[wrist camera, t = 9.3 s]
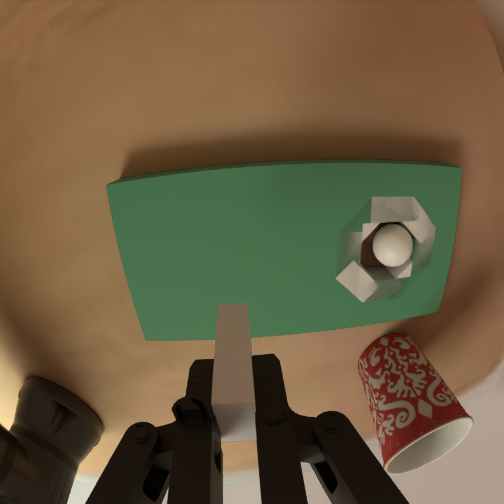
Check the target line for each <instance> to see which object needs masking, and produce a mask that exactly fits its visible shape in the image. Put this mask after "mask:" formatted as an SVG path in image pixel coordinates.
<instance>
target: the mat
mask: <svg viewBox="0 0 504 504" xmlns="http://www.w3.org/2000/svg"><path fill="white" fill-rule="evenodd" d="M461 181H462V168H461V167H457V166H453V165H450V164H446V163H435V162H420V161H401V160H369V159H324V160H291V161H271V162H255V163H242V164H230V165H219V166H209V167H200V168H191V169H183V170H175V171H168V172H160V173H154V174H147V175H141V176H134V177H128V178H122V179H118V180H116V181H114V182H111V183H109V184H107V185H106V187H107V193H108V199H109V204H110V209H111V214H112V219H113V224H114V229H115V233H116V238H117V242H118V247H119V251H120V255H121V259H122V263H123V267H124V270H125V274H126V278H127V282H128V285H129V289H130V292H131V296H132V299H133V302H134V306H135V309H136V312H137V315H138V318H139V322H140V325H141V328H142V331H143V334H144V336H145V339H146V340H156V341H165V340H213V339H216V327H217V315H218V305H223V304H236V303H247V306H248V317H249V327H250V338H251V337H265V336H278V335H289V334H299V333H309V332H318V331H327V330H335V329H342V328H350V327H357V326H364V325H370V324H377V323H383V322H389V321H395V320H400V319H406V318H411V317H416V316H422V315H427V314H431V313H436V312H438V311H439V308H440V304H441V300H442V296H443V293H444V289H445V284H446V280H447V276H448V271H449V267H450V262H451V257H452V251H453V246H454V240H455V234H456V227H457V220H458V212H459V203H460V193H461ZM383 222H398V223H399V225H400V226H402V227H404V228H405V229H406V230H407V231H408V232H409V234H410V235H411V238H412V242H413V249H412V253H411V255H410V257H409V259H408V260H407V261H406V262H405V263H403V264H402V265H399V266H395V267H390V266H386V265H385V266H377V267H367V268H364V267H363V266H362V265H361V264H360V260H361V247H362V241H363V240H364V239H365V238H366V237H367V236H368V235H369V234H370V233H371V232H372V231H373V230H374V229H375V228H376V227H377V226H378V225H379V223H383Z"/></svg>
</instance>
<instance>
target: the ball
mask: <svg viewBox="0 0 504 504" xmlns="http://www.w3.org/2000/svg"><path fill="white" fill-rule="evenodd" d="M412 249H413V242H412V238H411V235H410V234H409V232H408V231H407V230H406V229H405V228H404V227H402V226H400V225H397V224H388V225H385V226H383V227H381V228H380V229H379V230H378V231H377V232H376V234H375V236H374V239H373V252H374V254H375V256H376V258H377V259H378V260H379V261H380V262H381V263H382V264H384V265H386V266H390V267H395V266H399V265H402V264H403V263H405V262H406V261H407V260H408V259H409V257H410V255H411V253H412Z"/></svg>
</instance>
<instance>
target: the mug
mask: <svg viewBox="0 0 504 504" xmlns="http://www.w3.org/2000/svg"><path fill="white" fill-rule="evenodd" d="M358 371H359V375H360V378H361V381H362V384H363V387H364V390H365V394H366V397H367V400H368V404H369V408H370V411H371V414H372V418H373V422H374V426H375V429H376V433H377V438H378V441H379V445H380V449H381V452H382V457H383V461H384V465H383V468H384V470H385V471H386V472H387V474H389V475H398V474H404V473H408V472H411V471H414V470H417V469H419V468H422V467H424V466H426V465H428V464H430V463H432V462H434V461H435V460H437V459H439V458H441V457H442V456H444V455H445V454H447V453H448V452H449V451H451V450H452V449H453V448H455V447H456V446H457V445H458V444H459V443H460V442H461V441H462V440H463V439H464V438H465V437H466V436H467V435H468V433H469V432H470V430H471V428H472V426H473V419H472V417H471V416H469V415H468V414H467V413H466V412H465V410H464V409H463V407H462V406H461V404H460V403H459V401H458V400H457V399H456V397H455V396H454V394H453V393H452V391H451V390H450V389H449V387H448V386H447V385H446V383H445V382H444V381H443V379H442V378H441V376H440V375H439V374H438V372H437V371H436V370H435V368H434V367H433V366H432V364H431V363H430V362H429V360H428V359H427V358H426V356H425V355H424V354H423V352H422V351H421V349H420V348H419V347H418V346H417V345H416V343H415V342H414V341H413V339H412V338H411V337H409V336H408V335H406V334H401V333H396V334H390V335H387V336H384V337H382V338H380V339H378V340H376V341H375V342H373V343H372V344H371V345H370V346H369V347H368V348H367V349H366V350H365V351H364V352H363V354H362V355H361V357H360V359H359V362H358Z"/></svg>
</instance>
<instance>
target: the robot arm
mask: <svg viewBox="0 0 504 504" xmlns="http://www.w3.org/2000/svg"><path fill="white" fill-rule="evenodd" d="M187 384H188V385H187V389H186V396H185V397H183V398H181V399H179V400H177V401H176V402H175V403H174V405H173V407H172V412H173V414H174V416H175V418H176V421H174V422H173V423H170V424H167V425H163V426H159V427H155V426H154V425H152V424H150V423H148V422H138V423H135V424H133V425H131V426H130V427H129V428H128V429H127V430H126V432H125V434H124V436H123V437H122V439H121V441H120V443H119V444H118V446H117V448H116V450H115V451H114V453H113V455H112V457H111V458H110V460H109V462H108V464H107V466H106V467H105V469H104V471H103V473H102V474H101V476H100V478H99V480H98V482H97V483H96V485H95V487H94V489H93V491H92V492H91V494H90V496H89V498H88V500H87V501H86V503H85V504H162V501H163V499H164V497H165V494H166V491H167V489H168V487H169V491H168V500H167V504H223V453H222V449H221V440H222V442H239V441H255V440H257V452H258V465H259V477H260V489H261V502H262V504H308V502H307V496H306V491H305V485H304V480H303V474H302V469H301V463H300V462H307V463H310V465H311V467H312V469H313V471H314V472H315V474H316V476H317V478H318V480H319V482H320V483H321V485H322V487H323V489H324V491H325V492H326V494H327V496H328V498H329V499H330V501H331V503H332V504H409V503H408V501H407V500H406V498H405V497H404V496H403V494H402V493H401V492H400V490H399V489H398V487H397V486H396V485H395V484H394V482H393V481H392V479H391V478H390V477H389V475H388V474H387V472H386V471H385V470H384V468H383V467H382V466H381V464H380V463H379V461H378V460H377V459H376V457H375V456H374V454H373V453H372V452H371V450H370V449H369V447H368V446H367V445H366V443H365V442H364V440H363V439H362V438H361V436H360V435H359V433H358V432H357V430H356V429H355V428H354V426H353V425H352V423H351V422H350V421H349V419H348V418H347V417H346V416H345V415H344V414H342V413H340V412H337V411H327V412H323V413H321V414H320V415H318V416H317V417H307V416H302V415H299V414H297V413H295V412H294V411H292V410H291V409H290V407H289V405H288V402H287V397H286V392H285V386H284V381H283V375H282V371H281V365H280V361H279V359H278V358H277V357H276V356H275V355H274V354H265V355H254V356H252V350H251V338H250V327H249V317H248V306H247V303H236V304H223V305H218V315H217V327H216V340H215V354H214V359H201V360H195V361H194V363H193V364H192V365H191V367H190V370H189V378H188V383H187ZM18 397H19V400H18V404H17V408H16V413H15V418H14V422H13V424H12V426H11V428H10V430H9V431H8V430H7V429H6V428H5V427H4V426H3V425H2V424H1V423H0V504H67V501H68V498H69V494H70V491H71V488H72V485H73V482H74V479H75V476H76V472H77V470H78V467H79V464H80V463H81V462H82V461H83V460H84V458H85V457H86V456H87V455H88V454H89V453H90V451H91V450H92V449H93V447H95V446H96V445H97V444H98V443H99V441H100V439H101V436H102V433H103V426H102V423H101V421H100V420H99V418H98V417H97V415H96V414H95V413H94V412H93V411H92V410H91V409H90V408H89V407H88V406H87V405H86V404H85V403H83V402H82V401H81V400H80V399H78V398H77V397H76V396H74V395H73V394H71V393H70V392H68V391H67V390H65V389H63V388H62V387H60V386H58V385H56V384H54V383H52V382H49V381H47V380H44V379H41V378H28V379H26V381H25V382H24V384H23V385H22V387H21V388H20V391H19V396H18Z"/></svg>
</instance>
